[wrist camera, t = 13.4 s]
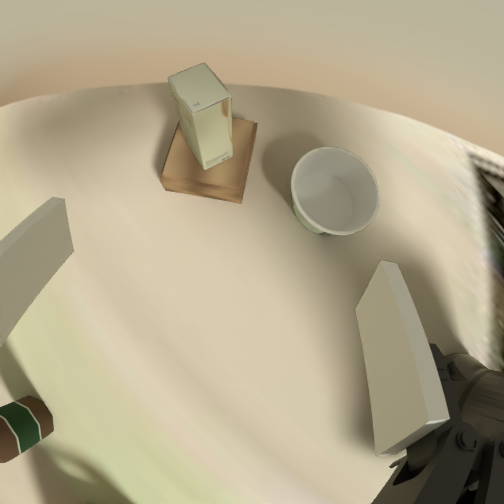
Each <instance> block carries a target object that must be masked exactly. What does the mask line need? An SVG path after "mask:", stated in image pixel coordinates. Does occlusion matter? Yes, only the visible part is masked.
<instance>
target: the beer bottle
mask: <svg viewBox="0 0 504 504" xmlns="http://www.w3.org/2000/svg"><path fill="white" fill-rule="evenodd" d="M53 430H54V428H53V418H52V415H51V413H50V412H49V410H48V409H47V407H46V406H45V405H44V403H43V402H42V401H40V400H37V399H35V398H33V397H31V396H27V397H24V398H22V399H19V400H17V401H14V402H12V403H9V404H7V405H5V406H2V407H0V463H6V462H8V461H10V460H12V459H13V458H15V457H17V456H18V455H20V454H21V453H23V452H24V451H26V450H27V449H29V448H30V447H32V446H33V445H35V444H36V443H38V442H39V441H41V440H42V439H43V438H45V437H46V436H48V435H49V434H50V433H52V432H53Z"/></svg>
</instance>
